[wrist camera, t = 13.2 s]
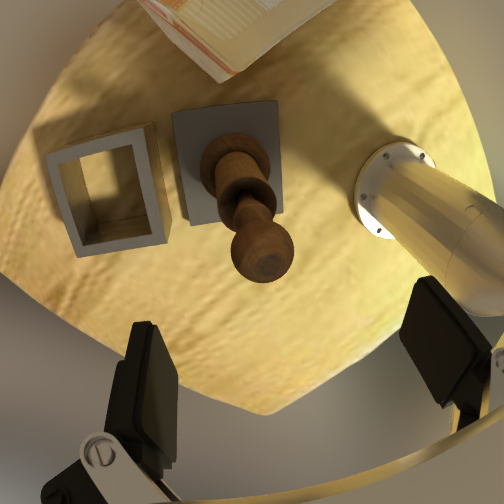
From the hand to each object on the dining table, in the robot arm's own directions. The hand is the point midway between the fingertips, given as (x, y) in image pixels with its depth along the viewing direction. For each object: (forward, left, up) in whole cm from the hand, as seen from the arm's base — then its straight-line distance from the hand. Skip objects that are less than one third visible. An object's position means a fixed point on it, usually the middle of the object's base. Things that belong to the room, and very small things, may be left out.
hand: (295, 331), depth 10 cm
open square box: (+13, 0, -23) cm, 26 cm away
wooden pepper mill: (0, 0, -22) cm, 22 cm away
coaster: (+1, 0, -23) cm, 23 cm away
